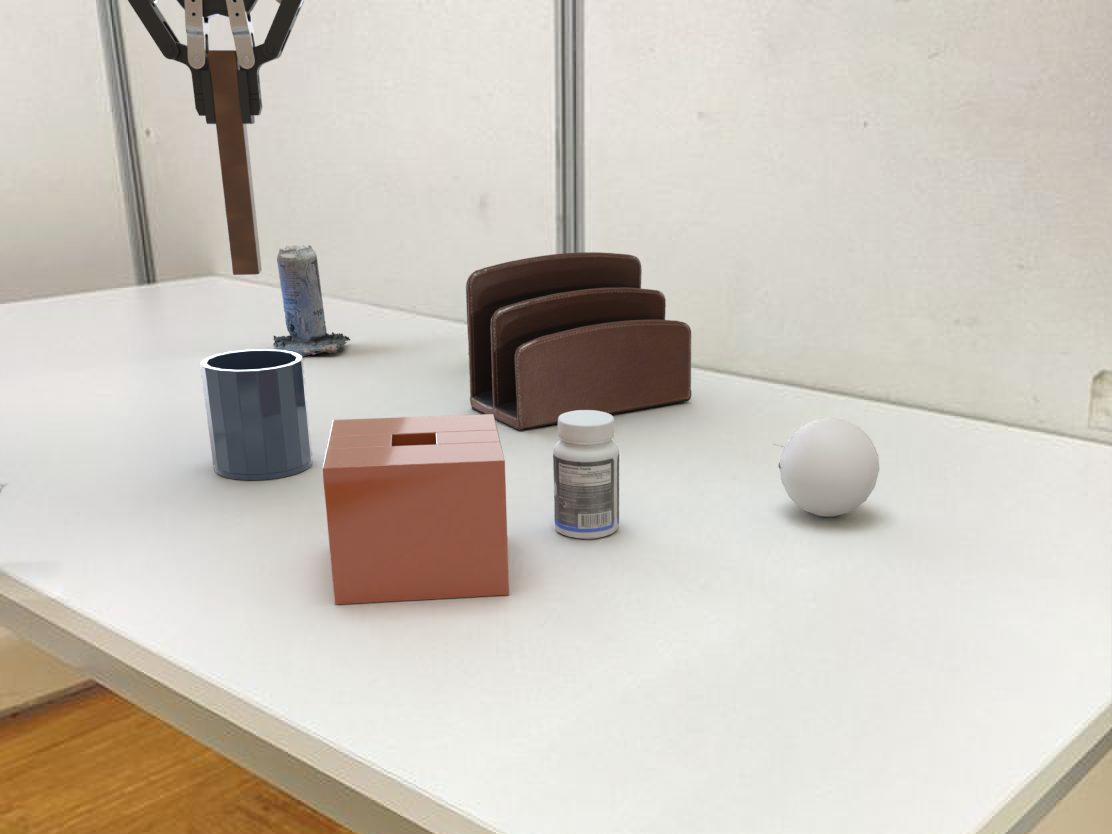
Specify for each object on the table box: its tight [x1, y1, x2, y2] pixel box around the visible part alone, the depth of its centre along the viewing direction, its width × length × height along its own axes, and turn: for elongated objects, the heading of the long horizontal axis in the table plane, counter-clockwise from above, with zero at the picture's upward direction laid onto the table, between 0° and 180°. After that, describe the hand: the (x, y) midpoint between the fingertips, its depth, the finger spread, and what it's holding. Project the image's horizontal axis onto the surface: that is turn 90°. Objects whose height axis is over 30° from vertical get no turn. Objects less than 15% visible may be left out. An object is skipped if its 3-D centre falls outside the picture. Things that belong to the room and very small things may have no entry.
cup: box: [199, 348, 313, 481], centre depth 104 cm, size 8×8×9 cm
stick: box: [207, 49, 263, 276], centre depth 95 cm, size 2×2×16 cm
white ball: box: [771, 417, 880, 518], centre depth 94 cm, size 10×7×7 cm
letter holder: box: [465, 251, 692, 431], centre depth 121 cm, size 10×20×14 cm, turn 123°
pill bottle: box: [552, 410, 620, 540], centre depth 90 cm, size 5×5×8 cm
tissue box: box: [321, 413, 510, 605], centre depth 83 cm, size 11×11×9 cm
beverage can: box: [272, 244, 351, 358], centre depth 144 cm, size 9×8×12 cm
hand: (230, 122), depth 94 cm, fingers closed on stick, 2 cm apart
